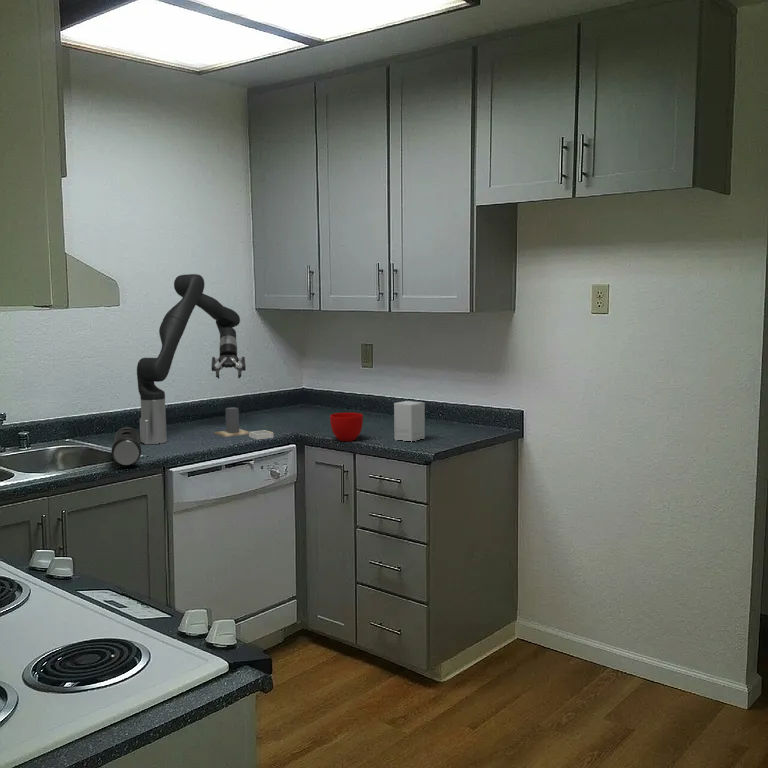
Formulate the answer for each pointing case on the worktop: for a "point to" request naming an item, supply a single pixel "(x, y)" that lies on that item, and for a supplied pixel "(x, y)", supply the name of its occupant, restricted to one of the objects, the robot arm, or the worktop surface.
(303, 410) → the worktop surface
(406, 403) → the supplement box
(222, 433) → the oak board
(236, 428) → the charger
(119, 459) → the muzzle brake
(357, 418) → the ceramic cup
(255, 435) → the socket dock
